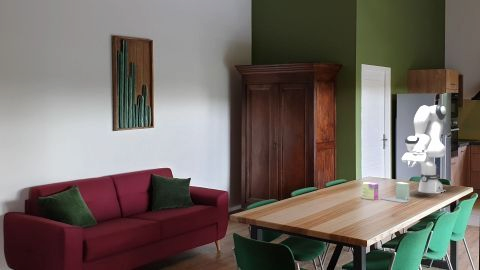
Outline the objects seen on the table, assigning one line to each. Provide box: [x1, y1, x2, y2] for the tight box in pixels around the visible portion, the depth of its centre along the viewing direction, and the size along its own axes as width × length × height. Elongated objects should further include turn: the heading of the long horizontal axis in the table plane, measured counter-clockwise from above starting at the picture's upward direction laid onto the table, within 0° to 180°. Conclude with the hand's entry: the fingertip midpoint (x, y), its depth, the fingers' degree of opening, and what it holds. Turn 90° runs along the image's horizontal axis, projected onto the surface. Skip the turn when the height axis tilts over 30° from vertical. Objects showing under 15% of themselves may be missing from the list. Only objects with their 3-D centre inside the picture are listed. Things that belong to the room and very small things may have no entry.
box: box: [361, 181, 379, 201], centre depth 387 cm, size 10×6×12 cm, turn 41°
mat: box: [380, 196, 412, 204], centre depth 380 cm, size 10×20×1 cm, turn 37°
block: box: [395, 181, 410, 201], centre depth 384 cm, size 5×8×12 cm, turn 37°
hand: (410, 166), depth 389 cm, fingers closed
